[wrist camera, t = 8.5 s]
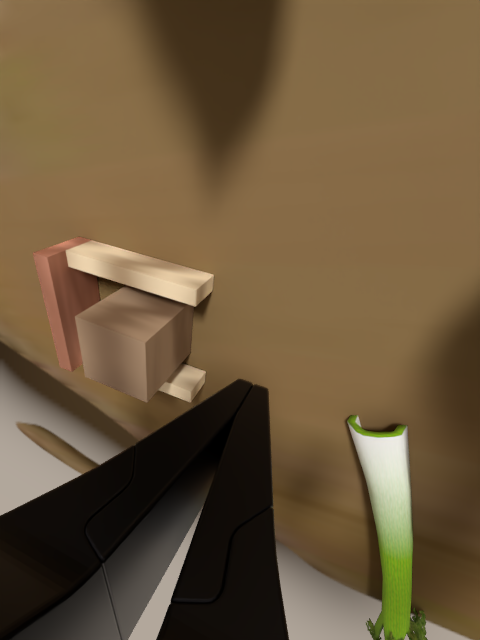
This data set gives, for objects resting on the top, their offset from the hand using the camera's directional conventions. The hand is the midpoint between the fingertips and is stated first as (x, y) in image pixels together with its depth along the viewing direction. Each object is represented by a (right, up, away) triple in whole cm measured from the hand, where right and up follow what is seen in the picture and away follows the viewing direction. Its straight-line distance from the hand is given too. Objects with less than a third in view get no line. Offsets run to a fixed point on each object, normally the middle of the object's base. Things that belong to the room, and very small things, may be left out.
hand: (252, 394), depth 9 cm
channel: (-7, +2, +17) cm, 18 cm away
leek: (+13, -18, +20) cm, 30 cm away
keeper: (-6, +2, +16) cm, 18 cm away
